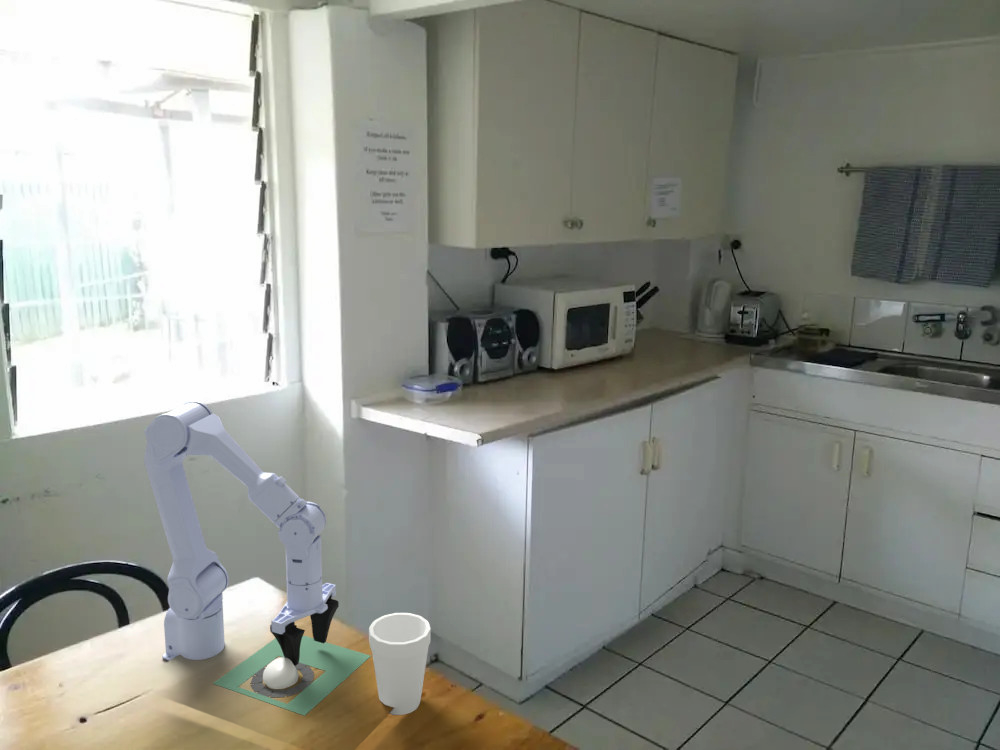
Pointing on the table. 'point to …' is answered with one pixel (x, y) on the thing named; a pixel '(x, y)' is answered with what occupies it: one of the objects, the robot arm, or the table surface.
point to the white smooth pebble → (280, 674)
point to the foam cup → (400, 659)
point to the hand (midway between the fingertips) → (306, 652)
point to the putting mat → (313, 654)
